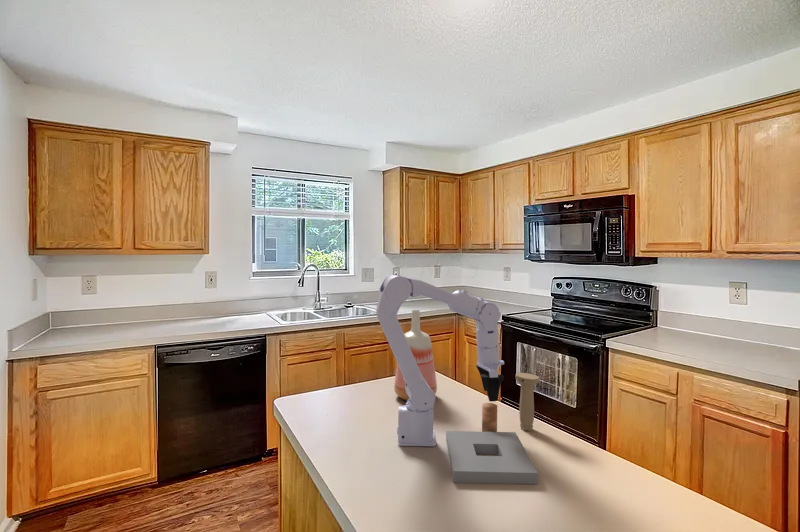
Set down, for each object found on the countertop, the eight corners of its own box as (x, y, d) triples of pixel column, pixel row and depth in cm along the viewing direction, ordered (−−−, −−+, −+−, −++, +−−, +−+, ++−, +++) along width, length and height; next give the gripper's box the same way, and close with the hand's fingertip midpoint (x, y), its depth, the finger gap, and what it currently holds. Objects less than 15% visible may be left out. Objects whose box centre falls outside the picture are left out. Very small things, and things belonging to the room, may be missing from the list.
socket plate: (453, 482, 90) (453, 471, 90) (446, 440, 110) (446, 431, 110) (537, 484, 89) (537, 472, 89) (515, 441, 109) (515, 432, 109)
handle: (532, 435, 113) (533, 380, 113) (511, 427, 118) (512, 375, 117) (541, 430, 116) (542, 376, 116) (520, 423, 121) (521, 371, 121)
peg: (483, 437, 112) (483, 408, 111) (480, 431, 116) (481, 402, 115) (498, 438, 111) (498, 408, 111) (495, 431, 115) (495, 402, 115)
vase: (390, 391, 147) (390, 308, 146) (429, 388, 151) (429, 307, 150) (399, 406, 133) (400, 314, 132) (442, 403, 137) (443, 312, 136)
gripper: (508, 351, 105) (511, 405, 106) (497, 338, 119) (500, 385, 120) (480, 353, 105) (483, 406, 106) (472, 340, 120) (475, 387, 120)
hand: (490, 395), depth 113 cm, fingers open, 7 cm apart
